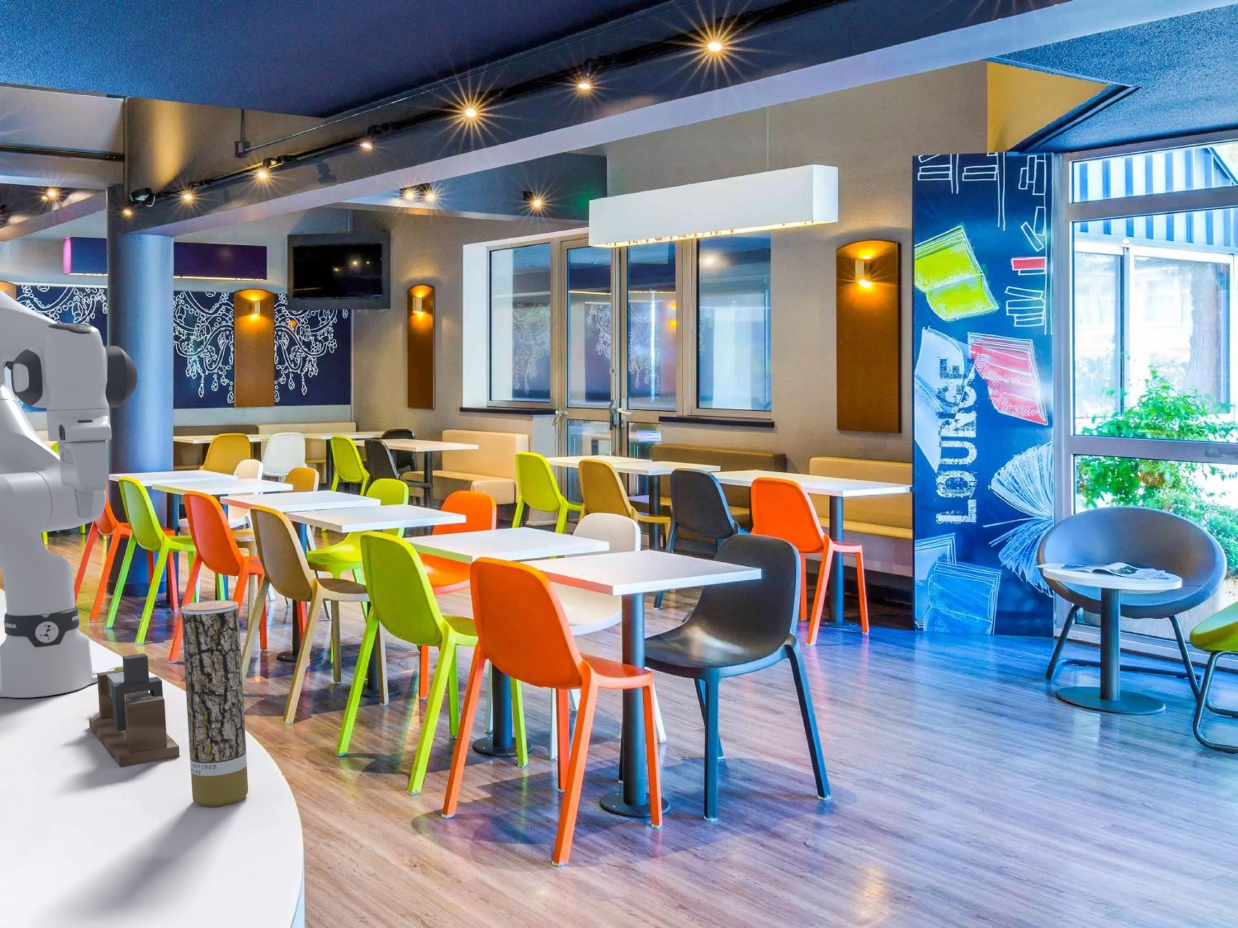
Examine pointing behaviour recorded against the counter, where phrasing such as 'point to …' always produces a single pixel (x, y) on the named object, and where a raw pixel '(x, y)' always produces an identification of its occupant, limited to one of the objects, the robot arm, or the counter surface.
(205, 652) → the paper tube
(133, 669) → the grey clamp
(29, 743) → the counter surface
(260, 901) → the counter surface
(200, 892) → the counter surface
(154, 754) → the base
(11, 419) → the robot arm
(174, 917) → the counter surface
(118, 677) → the grey metal bar
